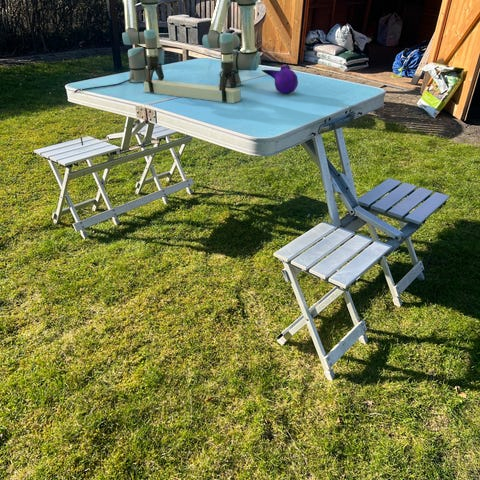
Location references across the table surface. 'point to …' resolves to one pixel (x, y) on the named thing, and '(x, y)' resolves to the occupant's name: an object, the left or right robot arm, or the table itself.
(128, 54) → the left robot arm
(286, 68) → the toy
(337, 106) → the table surface
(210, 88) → the beige rectangular bar
